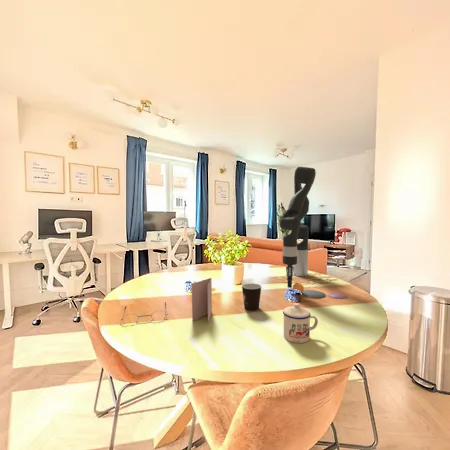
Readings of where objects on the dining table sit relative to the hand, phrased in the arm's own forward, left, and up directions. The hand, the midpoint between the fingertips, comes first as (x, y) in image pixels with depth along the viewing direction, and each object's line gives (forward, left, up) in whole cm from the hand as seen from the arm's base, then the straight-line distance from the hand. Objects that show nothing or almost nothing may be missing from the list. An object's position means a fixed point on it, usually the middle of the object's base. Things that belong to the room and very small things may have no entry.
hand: (289, 287), depth 136 cm
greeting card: (+40, -33, -3) cm, 52 cm away
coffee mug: (+24, -17, -3) cm, 30 cm away
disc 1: (0, +11, -3) cm, 12 cm away
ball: (+1, +4, 0) cm, 4 cm away
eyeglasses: (+40, -61, -4) cm, 73 cm away
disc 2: (0, +23, -3) cm, 23 cm away
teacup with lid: (+48, +3, -3) cm, 48 cm away
